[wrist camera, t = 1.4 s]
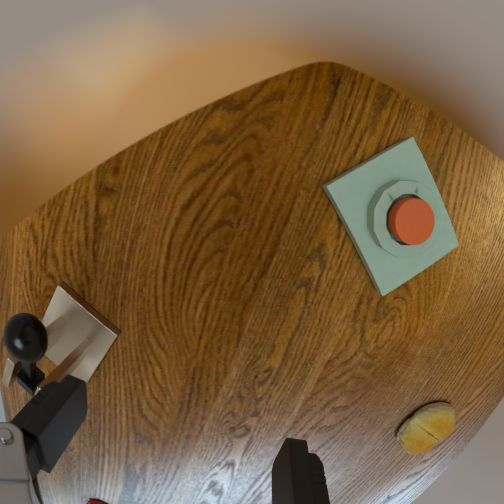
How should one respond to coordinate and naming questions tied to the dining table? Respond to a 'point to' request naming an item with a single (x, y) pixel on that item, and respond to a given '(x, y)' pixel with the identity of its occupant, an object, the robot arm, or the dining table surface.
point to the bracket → (70, 339)
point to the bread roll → (426, 427)
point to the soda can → (94, 502)
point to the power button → (411, 220)
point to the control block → (377, 210)
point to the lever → (27, 348)
